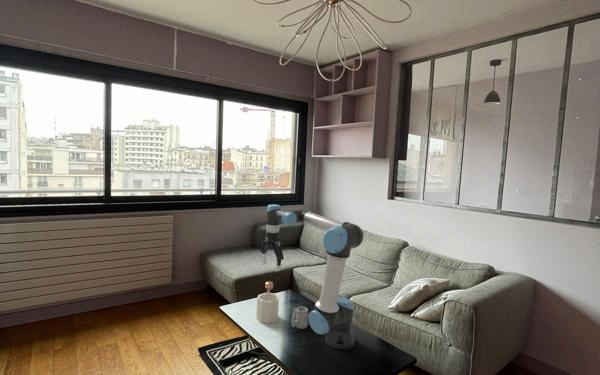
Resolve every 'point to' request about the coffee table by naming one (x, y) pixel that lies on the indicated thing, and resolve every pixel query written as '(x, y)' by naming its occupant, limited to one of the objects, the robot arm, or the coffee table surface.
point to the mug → (300, 318)
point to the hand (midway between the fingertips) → (270, 267)
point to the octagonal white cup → (267, 308)
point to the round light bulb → (268, 286)
